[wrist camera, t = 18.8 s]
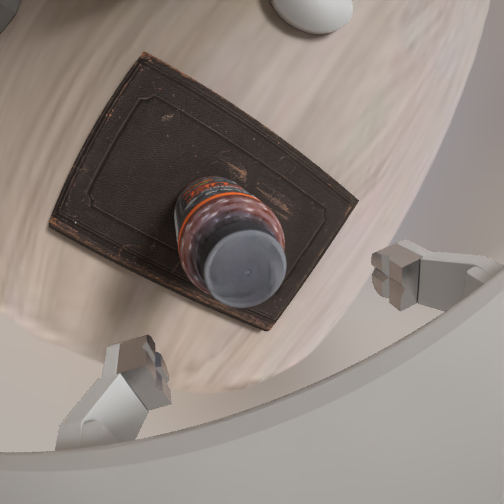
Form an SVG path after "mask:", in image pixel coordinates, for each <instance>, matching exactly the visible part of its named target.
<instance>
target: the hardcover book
mask: <svg viewBox="0 0 504 504" xmlns="http://www.w3.org/2000/svg"><path fill="white" fill-rule="evenodd" d="M209 176H218V177H223V178H226V179H229V180H231V181H233V182H234V183H236V184H237V185H239V186H240V187H242V188H243V189H245V190H246V191H247V192H249V193H250V194H252V195H253V196H254V197H256V198H257V199H258V200H260V201H261V202H263V203H264V204H265V205H266V206H268V207H269V208H270V210H271V211H272V212H273V213H274V214H275V216H276V217H277V218H278V220H279V222H280V224H281V227H282V230H283V233H284V241H285V248H284V252H285V256H286V261H287V268H286V274H285V277H284V280H283V282H282V284H281V286H280V287H279V288H278V290H277V291H276V292H275V293H274V294H273V295H272V296H271V297H270V298H269V299H267V300H266V301H264V302H262V303H261V304H258V305H255V306H252V307H247V308H236V307H230V306H227V305H225V304H222V303H220V302H219V301H218V300H216V299H215V298H214V297H213V296H212V295H210V294H207V293H205V292H204V291H202V290H200V289H199V288H198V287H197V286H195V285H194V284H193V283H192V282H191V280H190V279H189V278H188V277H187V275H186V273H185V271H184V270H183V268H182V265H181V261H180V257H179V251H178V244H177V236H176V228H175V219H174V213H175V206H176V202H177V199H178V197H179V196H180V194H181V193H182V191H183V190H184V189H185V188H186V187H187V186H188V185H189V184H191V183H192V182H194V181H195V180H197V179H200V178H203V177H209ZM358 201H359V200H358V199H357V198H355V197H354V196H353V195H352V194H351V193H350V192H348V191H347V190H346V189H345V188H344V187H343V186H341V185H340V184H339V183H338V182H337V181H335V180H334V179H333V178H332V177H331V176H329V175H328V174H327V173H326V172H325V171H323V170H322V169H321V168H320V167H318V166H317V165H316V164H315V163H313V162H312V161H311V160H310V159H308V158H307V157H306V156H304V155H303V154H302V153H301V152H299V151H298V150H297V149H295V148H294V147H293V146H291V145H290V144H289V143H287V142H286V141H285V140H283V139H282V138H281V137H279V136H278V135H277V134H275V133H274V132H272V131H271V130H270V129H268V128H267V127H265V126H264V125H263V124H261V123H260V122H258V121H257V120H256V119H254V118H253V117H251V116H250V115H248V114H247V113H245V112H244V111H242V110H241V109H239V108H238V107H236V106H235V105H233V104H232V103H230V102H229V101H227V100H226V99H224V98H223V97H221V96H220V95H218V94H217V93H215V92H213V91H212V90H210V89H209V88H207V87H205V86H204V85H202V84H200V83H199V82H197V81H196V80H194V79H192V78H191V77H189V76H187V75H185V74H184V73H182V72H180V71H179V70H177V69H175V68H173V67H172V66H170V65H168V64H166V63H164V62H163V61H161V60H159V59H157V58H155V57H153V56H152V55H150V54H148V53H146V52H143V53H142V55H141V56H140V57H139V59H138V60H137V61H136V63H135V64H134V65H133V67H132V68H131V70H130V71H129V72H128V74H127V75H126V77H125V78H124V80H123V81H122V82H121V84H120V85H119V87H118V88H117V90H116V91H115V93H114V94H113V96H112V98H111V99H110V101H109V102H108V104H107V105H106V107H105V109H104V110H103V112H102V114H101V115H100V117H99V119H98V120H97V122H96V124H95V126H94V127H93V129H92V131H91V133H90V134H89V136H88V138H87V140H86V142H85V144H84V145H83V147H82V149H81V151H80V153H79V155H78V157H77V159H76V161H75V163H74V165H73V167H72V169H71V171H70V173H69V175H68V178H67V180H66V182H65V184H64V186H63V189H62V191H61V193H60V196H59V198H58V200H57V203H56V205H55V207H54V210H53V212H52V215H51V218H50V220H49V227H50V228H52V229H53V230H55V231H57V232H59V233H61V234H62V235H64V236H66V237H68V238H70V239H71V240H73V241H75V242H77V243H79V244H80V245H82V246H84V247H86V248H88V249H90V250H92V251H93V252H95V253H97V254H99V255H101V256H103V257H105V258H107V259H109V260H111V261H113V262H115V263H116V264H118V265H120V266H122V267H124V268H126V269H128V270H130V271H132V272H134V273H136V274H138V275H140V276H142V277H144V278H146V279H149V280H151V281H153V282H155V283H157V284H159V285H161V286H163V287H165V288H167V289H169V290H172V291H174V292H176V293H178V294H180V295H182V296H185V297H187V298H189V299H191V300H193V301H196V302H198V303H200V304H202V305H204V306H207V307H209V308H211V309H214V310H216V311H218V312H220V313H223V314H225V315H227V316H230V317H232V318H234V319H237V320H239V321H242V322H244V323H246V324H249V325H251V326H254V327H256V328H259V329H261V330H263V331H269V330H270V329H271V328H272V327H273V325H274V324H275V323H276V321H277V320H278V319H279V317H280V316H281V315H282V313H283V312H284V310H285V309H286V308H287V306H288V305H289V304H290V302H291V301H292V299H293V298H294V297H295V295H296V294H297V292H298V291H299V289H300V288H301V287H302V285H303V284H304V282H305V281H306V280H307V278H308V277H309V275H310V274H311V272H312V271H313V269H314V268H315V267H316V265H317V264H318V262H319V261H320V259H321V258H322V256H323V255H324V253H325V252H326V250H327V249H328V247H329V246H330V244H331V243H332V241H333V240H334V238H335V237H336V235H337V234H338V232H339V231H340V229H341V228H342V226H343V225H344V223H345V222H346V220H347V218H348V217H349V215H350V214H351V212H352V211H353V209H354V208H355V206H356V204H357V203H358Z"/></svg>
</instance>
